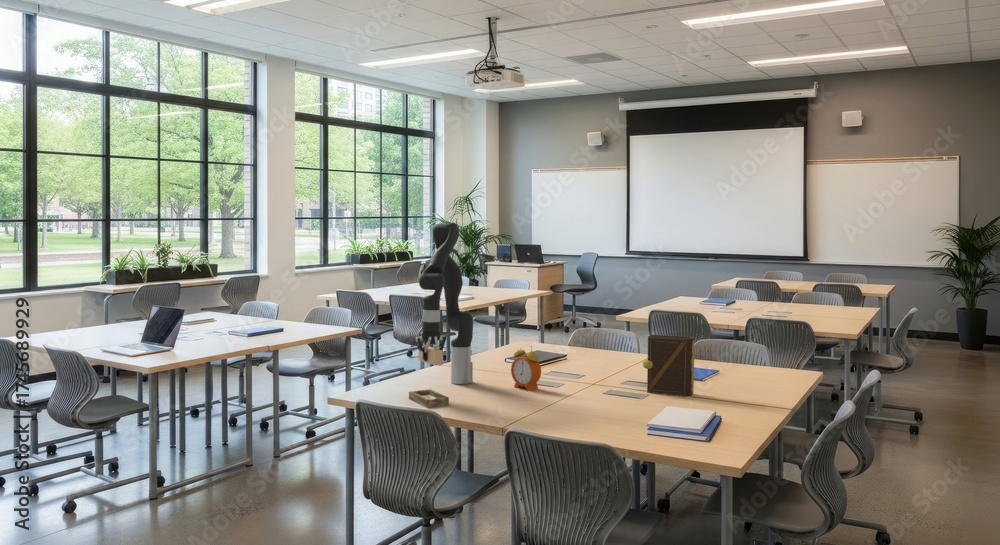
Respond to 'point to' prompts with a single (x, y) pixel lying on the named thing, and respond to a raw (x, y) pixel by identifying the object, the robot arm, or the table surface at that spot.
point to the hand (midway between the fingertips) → (430, 360)
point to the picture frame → (428, 398)
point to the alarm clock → (526, 369)
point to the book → (670, 365)
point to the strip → (432, 356)
